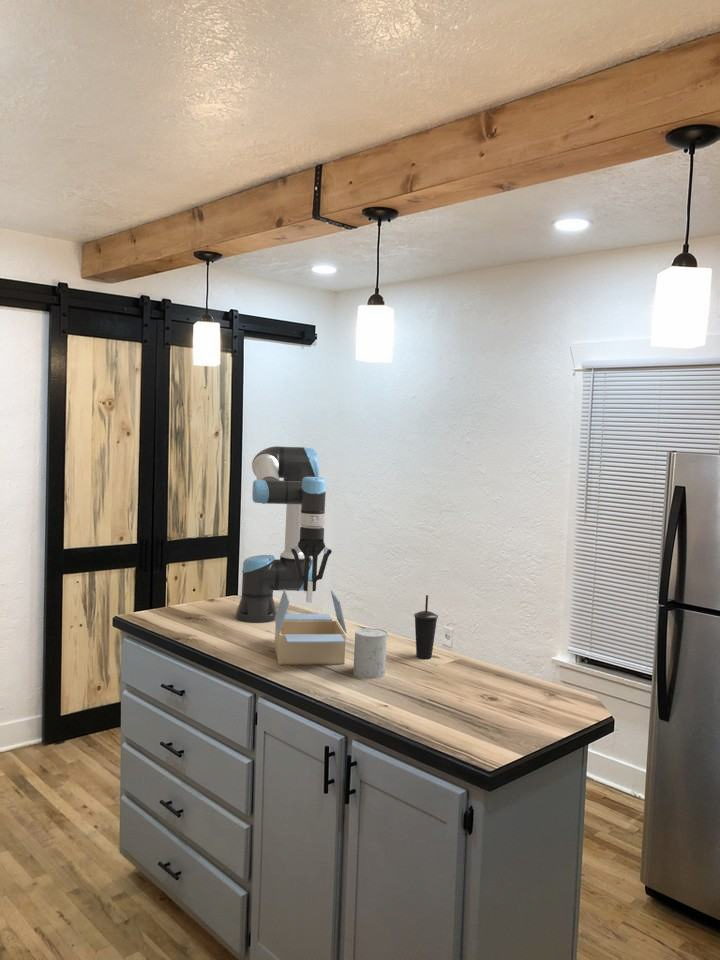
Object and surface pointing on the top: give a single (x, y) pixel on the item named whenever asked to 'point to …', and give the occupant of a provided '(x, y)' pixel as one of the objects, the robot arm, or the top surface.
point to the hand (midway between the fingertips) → (309, 601)
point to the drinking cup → (425, 632)
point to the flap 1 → (281, 611)
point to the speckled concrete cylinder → (370, 653)
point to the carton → (309, 640)
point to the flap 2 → (338, 611)
